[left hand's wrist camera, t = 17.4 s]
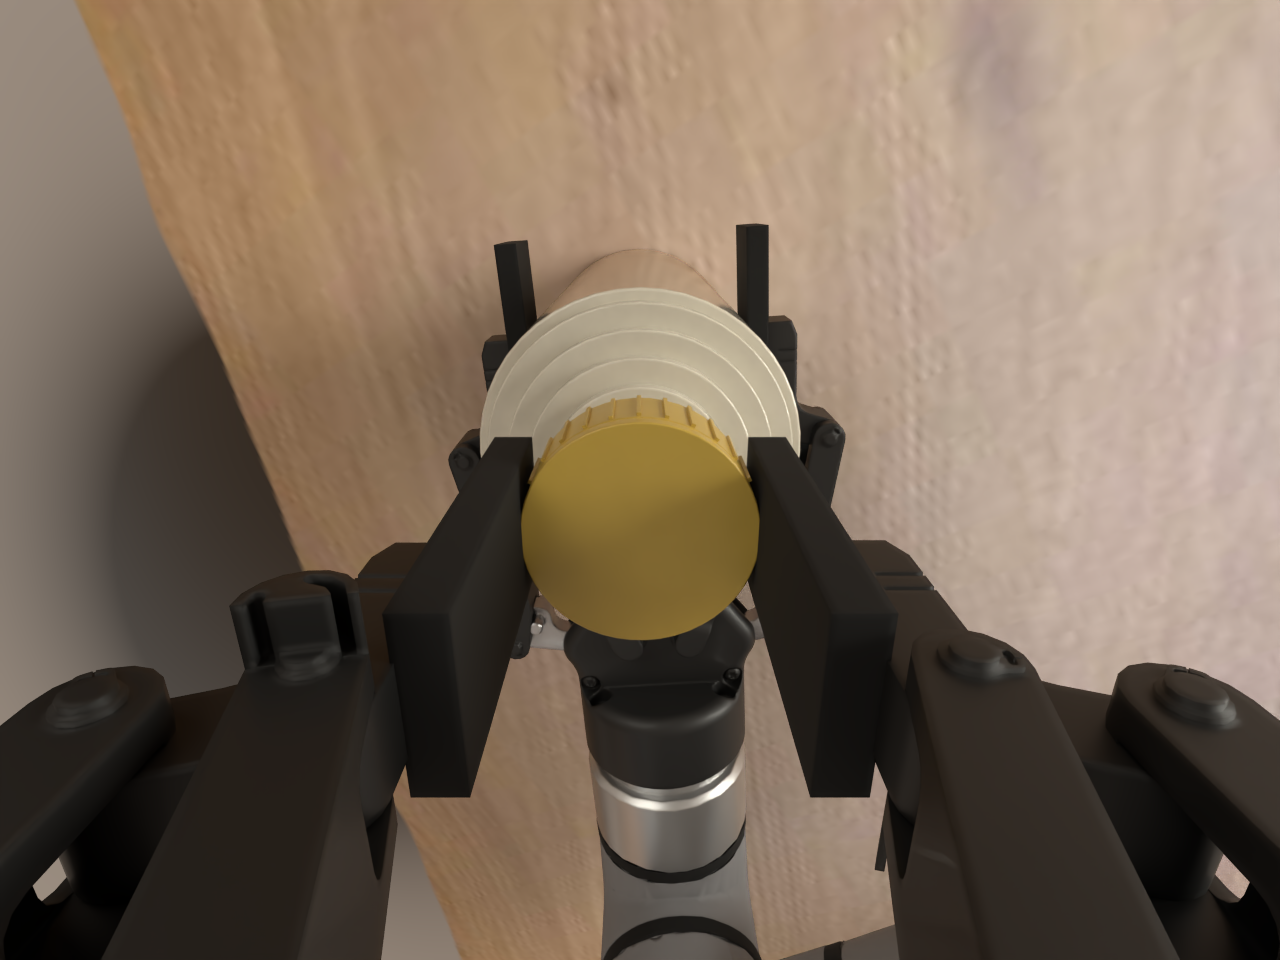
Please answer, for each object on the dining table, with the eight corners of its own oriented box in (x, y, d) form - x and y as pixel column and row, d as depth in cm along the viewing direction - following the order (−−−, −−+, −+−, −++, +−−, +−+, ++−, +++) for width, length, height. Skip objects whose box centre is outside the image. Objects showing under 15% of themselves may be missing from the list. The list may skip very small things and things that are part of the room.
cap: (675, 349, 13) (680, 369, 12) (788, 531, 15) (808, 571, 13) (485, 470, 14) (465, 504, 12) (609, 630, 15) (605, 679, 14)
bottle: (709, 429, 34) (799, 715, 15) (548, 409, 34) (426, 674, 14) (739, 261, 31) (898, 345, 12) (563, 237, 31) (436, 283, 12)
